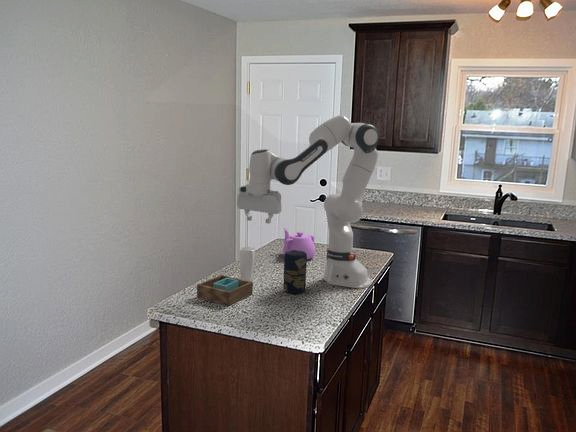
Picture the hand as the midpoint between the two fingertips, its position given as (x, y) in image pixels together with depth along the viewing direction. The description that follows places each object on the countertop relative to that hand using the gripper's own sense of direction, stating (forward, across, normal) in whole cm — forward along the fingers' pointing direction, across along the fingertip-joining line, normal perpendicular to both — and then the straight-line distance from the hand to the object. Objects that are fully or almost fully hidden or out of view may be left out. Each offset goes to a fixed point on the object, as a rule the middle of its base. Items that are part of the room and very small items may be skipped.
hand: (258, 221), depth 209 cm
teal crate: (+28, +5, +16) cm, 32 cm away
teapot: (+29, +11, -55) cm, 63 cm away
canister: (+29, -15, -6) cm, 34 cm away
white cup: (+29, +9, -5) cm, 31 cm away
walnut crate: (+29, +5, +16) cm, 34 cm away
